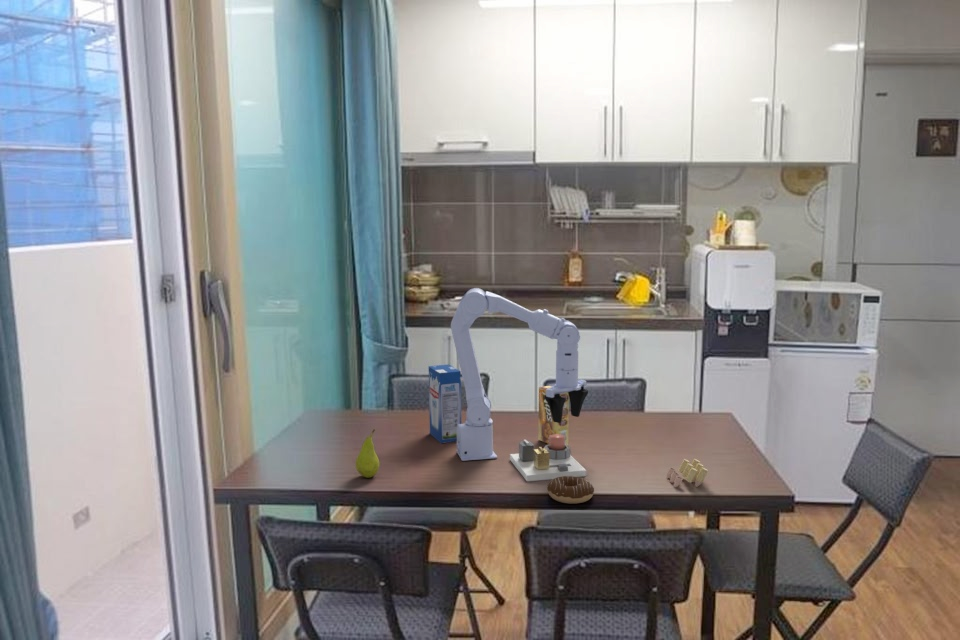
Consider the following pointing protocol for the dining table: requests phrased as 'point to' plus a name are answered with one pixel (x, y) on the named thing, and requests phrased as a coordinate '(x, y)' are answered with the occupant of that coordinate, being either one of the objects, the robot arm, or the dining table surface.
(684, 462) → the ammunition
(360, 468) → the fruit
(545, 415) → the candy box
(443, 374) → the milk carton
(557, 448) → the red button
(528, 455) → the gray slider
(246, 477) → the dining table surface
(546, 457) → the brass slider
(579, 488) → the donut
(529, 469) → the panel
